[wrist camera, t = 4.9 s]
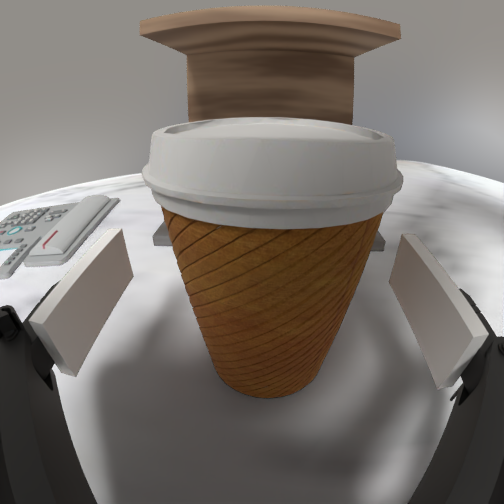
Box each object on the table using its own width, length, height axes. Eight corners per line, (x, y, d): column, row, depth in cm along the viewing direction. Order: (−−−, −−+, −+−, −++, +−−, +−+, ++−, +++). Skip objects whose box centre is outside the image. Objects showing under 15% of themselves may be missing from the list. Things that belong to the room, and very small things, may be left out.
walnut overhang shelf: (383, 251, 25) (404, 22, 14) (154, 245, 27) (135, 18, 16) (342, 190, 41) (350, 49, 30) (196, 187, 42) (190, 47, 31)
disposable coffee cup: (183, 308, 19) (157, 123, 13) (316, 291, 20) (334, 119, 14) (188, 437, 11) (96, 162, 5) (375, 399, 12) (467, 160, 6)
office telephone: (118, 188, 38) (54, 260, 21) (121, 204, 39) (63, 284, 22) (10, 205, 36) (-60, 266, 19) (14, 218, 37) (-52, 282, 20)
